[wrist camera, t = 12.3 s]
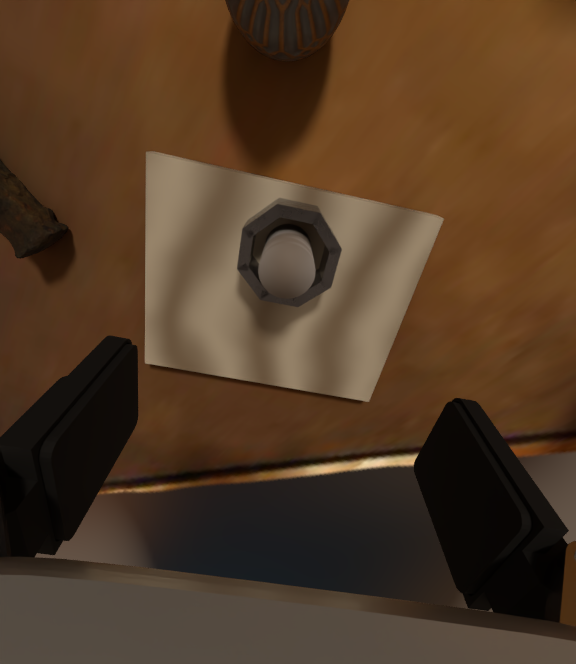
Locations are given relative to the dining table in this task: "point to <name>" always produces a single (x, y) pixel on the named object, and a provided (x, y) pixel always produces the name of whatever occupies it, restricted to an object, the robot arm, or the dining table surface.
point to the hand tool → (25, 217)
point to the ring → (299, 213)
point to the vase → (287, 25)
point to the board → (264, 329)
